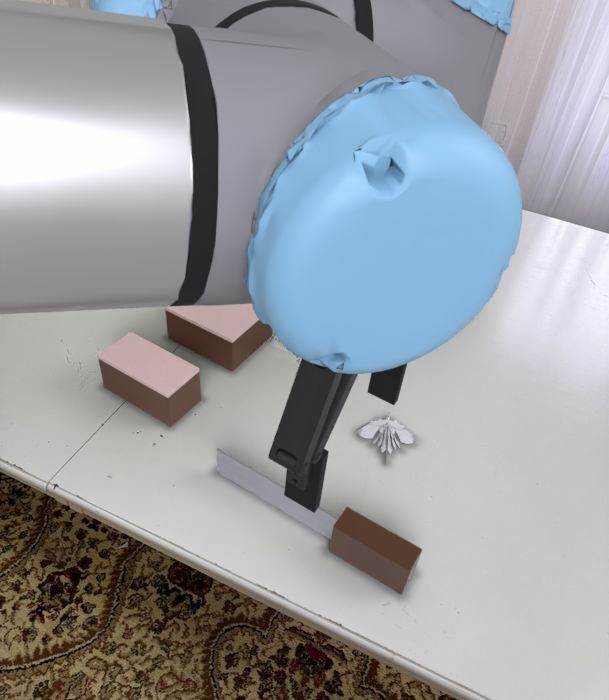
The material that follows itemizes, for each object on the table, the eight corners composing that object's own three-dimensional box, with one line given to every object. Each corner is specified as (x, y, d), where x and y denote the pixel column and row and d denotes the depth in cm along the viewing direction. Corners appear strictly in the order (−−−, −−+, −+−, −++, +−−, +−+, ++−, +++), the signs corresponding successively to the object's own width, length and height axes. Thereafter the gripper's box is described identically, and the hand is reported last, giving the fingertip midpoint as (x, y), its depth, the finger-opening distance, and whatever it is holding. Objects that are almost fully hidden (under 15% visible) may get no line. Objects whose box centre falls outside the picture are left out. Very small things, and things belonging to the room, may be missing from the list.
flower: (415, 475, 79) (419, 464, 76) (352, 466, 79) (355, 455, 77) (416, 424, 83) (420, 413, 81) (357, 416, 84) (359, 405, 81)
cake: (232, 371, 88) (232, 339, 84) (168, 338, 93) (164, 306, 89) (272, 334, 95) (273, 303, 91) (210, 305, 99) (209, 274, 95)
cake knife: (413, 573, 67) (422, 548, 64) (401, 595, 65) (410, 571, 62) (225, 463, 76) (224, 437, 73) (210, 480, 74) (208, 453, 71)
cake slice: (171, 427, 80) (167, 395, 76) (103, 387, 84) (97, 355, 80) (201, 400, 84) (199, 367, 80) (135, 363, 88) (130, 331, 84)
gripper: (341, 353, 28) (303, 586, 42) (514, 166, 44) (444, 378, 58) (209, 290, 30) (215, 529, 45) (418, 136, 47) (374, 346, 61)
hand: (345, 444), depth 51 cm, fingers open, 13 cm apart
